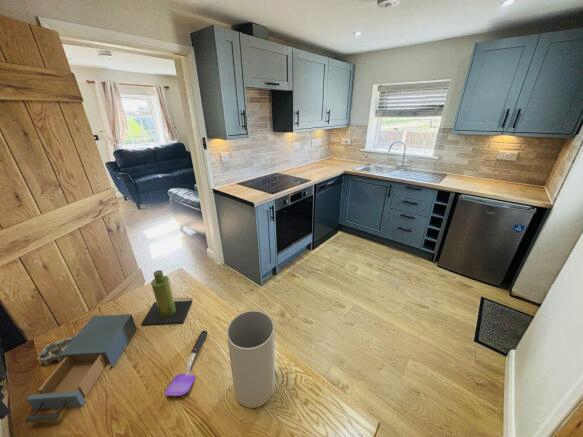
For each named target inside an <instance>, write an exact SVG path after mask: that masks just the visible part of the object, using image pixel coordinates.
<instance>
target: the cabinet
mask: <svg viewBox="0 0 583 437" xmlns="http://www.w3.org/2000/svg"><path fill="white" fill-rule="evenodd" d="M135 332H137V325H136V322H135V320H134V317H133V313H127V314H109V315H108V314H107V315H105V314H104V315H93V316H91V318H90V320H88V322H87V323H86V324H85V325H84V326H83V327H82V329H81V330H80V331H78V333H76V334H77V335H76V334H75V335H76V337H75V338H74V339H73V340H72V341H71V342H70V344H69V345H68V346H67V347H66V348H65V349H64V350H63V352H62V353H61V354H60V357H61V358H62V360H63V359H64V358H65V357H66V356H79V355H95V354H104V356H105V358H106V360H107V362H108V363H107V365H110V367H109V369H112V368H114V366H115V365H116V363H117V361H118V360H119V358H120V356H121V355H122V353H123V352H124V350H125V348H126V347H127V345H128V343H129V342H130V340H131V339H132V337H133V335H134V334H135Z"/></svg>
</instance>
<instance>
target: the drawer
mask: <svg viewBox="0 0 583 437" xmlns="http://www.w3.org/2000/svg"><path fill="white" fill-rule="evenodd" d="M107 365H108V362H107V360H106V358H105V356H104V354H95V355H79V356H66V357H65V358H64V359H63V360H62V361H60V363H59V364H58V365H57V367H56V368H55V369H54V370H53V371H52V372H51V374H49V376H48V377H47V378H46V379H45V381H44V382H43V383H42V384H41V385H40V387H38V388H37V391H38V392H39V393H38V394H36V393H35V394H29V396H28V397H27V398H26V402H27V403H28V404H29V406H30V407H31V408H32V410H33V412H32V413H31V414H29V415H28V416H26V418H25V423H34V422H35V423H36V422H48V421H57V420H58V419H59V418H60V415H61V412H62V411H63V409H65V408H79V407H83V406H84V404H85V399H84V398H86V397H87V395H88V394H89V393H90V391H91V390H92V388H93V386H94V385H95V383H96V382H97V380H98V378H99V377H100V375H101V374H102V372H103V371H104V370H105V368H106V366H107ZM53 409H58V410H57V412H54V413H42V414H41V413H39V414H37V413H38V412H39V411H40V410H41V411H42V410H53Z"/></svg>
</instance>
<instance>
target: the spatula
mask: <svg viewBox="0 0 583 437" xmlns="http://www.w3.org/2000/svg"><path fill="white" fill-rule="evenodd" d="M207 334H208V331H207V330H202V331H201V332H200V334H199V336H198V337H197V339H196V341H195V343H194V345H193V348H192V349H191V353H190V356H189V357H188V361H187V364H186V368H185V372H184V373H183V374H182V373H180V374H176V375H175V376H174V378H173V379H172V380H171V382H170V383H169V385H168V387H167V388H166V389H165V391H164V392H163V394H164V396H174V397H178V396H182V395H185V394H186V393H188V392H189V391H190V389H191V387H192V385H193V383H194V381H195V379H196V376H195V375H194V374H190V373H191V369H192V365H193V362H194V359H195V357H196V355H197V354H198V352H199V350H200V349H201V347H202V345H203V343H204V341H205V340H206V337H207Z"/></svg>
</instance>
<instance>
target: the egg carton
mask: <svg viewBox="0 0 583 437" xmlns="http://www.w3.org/2000/svg"><path fill="white" fill-rule="evenodd" d="M77 334H78V333H76V334H73V335H71V336H70V337H66V338H64V339H60V340H57V341H55V342H53V343H48V344H46V345H45V347H44V348H43V349H42V351H41V352H40V353H39V355H38V356H37V357H36V360H38V361H39V360H40V362H41V364H44V365H45V366H48V365H50V364H51V363H53V362H54V361H57V362H62V358H61V357H60V354H61V353H62V352H63V350H64V349H65V348H66V347H67V346H68V345H69V344H70V342H71V341H72V340H73V339H74V338H75V337H76V335H77Z"/></svg>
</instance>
